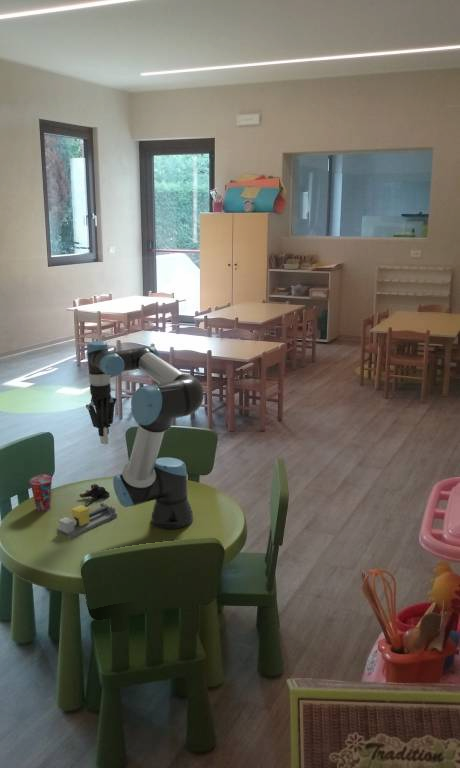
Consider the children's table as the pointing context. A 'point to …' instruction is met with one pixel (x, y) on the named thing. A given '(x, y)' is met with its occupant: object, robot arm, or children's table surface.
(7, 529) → the children's table surface
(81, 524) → the sleeve
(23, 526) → the children's table surface
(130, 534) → the children's table surface
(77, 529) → the comb rail
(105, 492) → the stuffed animal
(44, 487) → the cup
